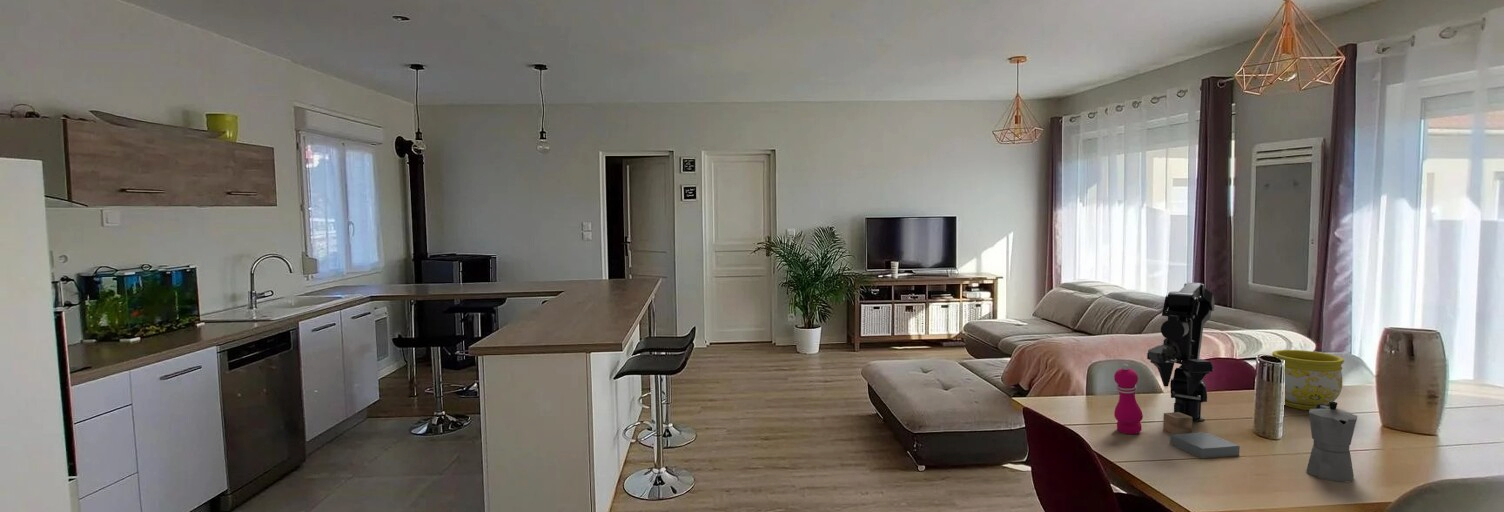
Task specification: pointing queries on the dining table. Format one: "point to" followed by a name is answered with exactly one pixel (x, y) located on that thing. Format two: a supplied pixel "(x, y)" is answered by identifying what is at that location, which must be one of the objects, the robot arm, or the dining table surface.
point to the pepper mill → (1127, 401)
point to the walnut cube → (1177, 423)
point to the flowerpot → (1310, 378)
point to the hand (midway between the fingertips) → (1177, 390)
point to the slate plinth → (1204, 445)
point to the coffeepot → (1331, 443)
